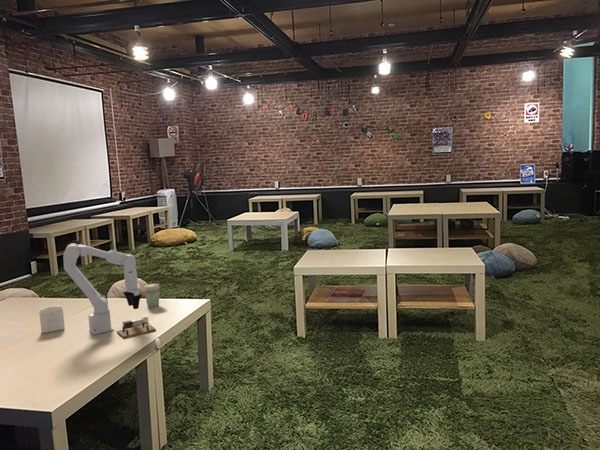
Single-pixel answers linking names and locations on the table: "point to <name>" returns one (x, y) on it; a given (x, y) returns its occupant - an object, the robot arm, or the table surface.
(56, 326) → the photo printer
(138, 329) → the tool board
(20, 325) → the table surface
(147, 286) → the coffee cup
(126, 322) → the lever door handle
